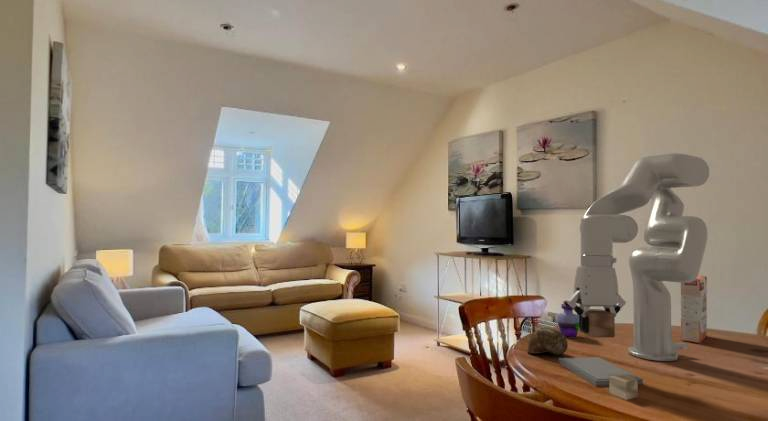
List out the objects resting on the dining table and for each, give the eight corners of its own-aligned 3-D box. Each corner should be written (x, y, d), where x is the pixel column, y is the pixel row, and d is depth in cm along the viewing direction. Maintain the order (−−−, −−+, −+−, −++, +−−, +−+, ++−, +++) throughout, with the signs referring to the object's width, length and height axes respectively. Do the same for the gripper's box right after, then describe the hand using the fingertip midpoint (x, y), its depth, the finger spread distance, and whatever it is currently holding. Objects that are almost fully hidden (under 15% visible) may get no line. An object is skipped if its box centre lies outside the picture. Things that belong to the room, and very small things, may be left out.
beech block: (621, 391, 103) (621, 373, 104) (637, 397, 100) (637, 379, 100) (609, 394, 102) (609, 376, 102) (625, 400, 98) (625, 381, 98)
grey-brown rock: (571, 354, 133) (571, 326, 133) (562, 361, 125) (562, 333, 126) (533, 347, 140) (533, 321, 140) (522, 354, 132) (522, 327, 132)
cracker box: (702, 344, 144) (701, 279, 145) (680, 340, 148) (679, 277, 149) (708, 336, 154) (707, 275, 155) (687, 333, 158) (686, 274, 159)
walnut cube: (600, 331, 119) (600, 309, 120) (614, 337, 113) (614, 313, 114) (579, 331, 119) (579, 309, 119) (592, 337, 113) (592, 313, 113)
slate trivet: (599, 361, 126) (599, 356, 126) (642, 384, 108) (642, 378, 108) (558, 362, 124) (558, 357, 124) (595, 385, 106) (595, 380, 106)
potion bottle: (579, 340, 148) (579, 303, 148) (552, 336, 153) (552, 301, 153) (584, 335, 155) (583, 300, 156) (558, 331, 160) (557, 297, 160)
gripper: (618, 261, 121) (618, 328, 121) (557, 260, 120) (557, 328, 119) (636, 263, 114) (637, 335, 113) (572, 262, 112) (572, 335, 111)
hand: (596, 331), depth 116 cm, fingers closed on walnut cube, 6 cm apart
